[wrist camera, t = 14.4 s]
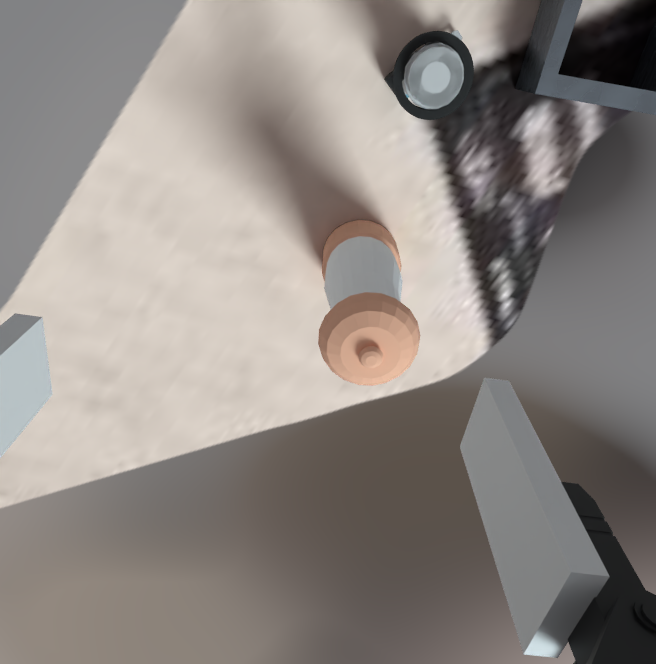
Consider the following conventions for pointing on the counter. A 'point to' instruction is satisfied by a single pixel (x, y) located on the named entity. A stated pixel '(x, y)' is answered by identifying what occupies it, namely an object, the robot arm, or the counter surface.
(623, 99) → the square-hole rail
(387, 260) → the pepper shaker
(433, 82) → the push button
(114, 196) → the counter surface
